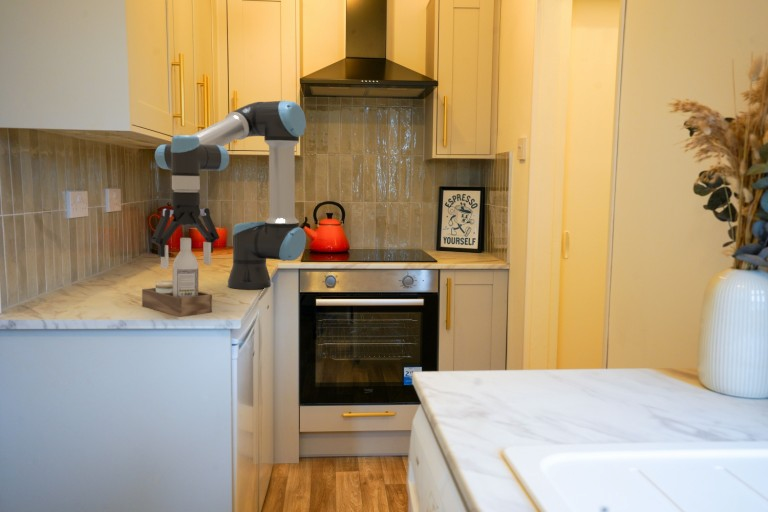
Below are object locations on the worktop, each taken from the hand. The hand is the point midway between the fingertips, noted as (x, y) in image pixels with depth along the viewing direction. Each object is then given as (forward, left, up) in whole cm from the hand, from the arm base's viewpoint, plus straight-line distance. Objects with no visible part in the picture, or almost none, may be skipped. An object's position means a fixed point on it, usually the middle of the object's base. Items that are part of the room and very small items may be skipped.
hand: (186, 266), depth 187 cm
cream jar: (0, -10, -13) cm, 16 cm away
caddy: (0, -5, -13) cm, 14 cm away
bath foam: (0, 0, -12) cm, 12 cm away
